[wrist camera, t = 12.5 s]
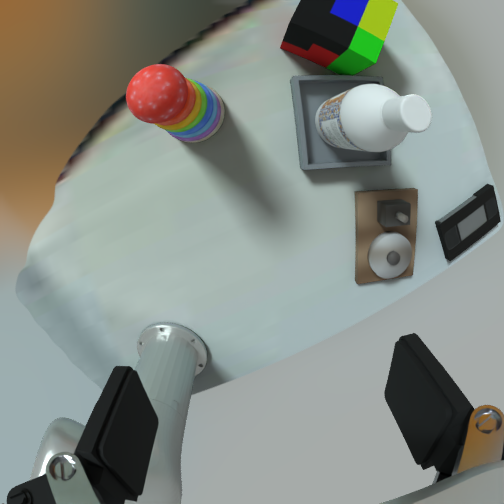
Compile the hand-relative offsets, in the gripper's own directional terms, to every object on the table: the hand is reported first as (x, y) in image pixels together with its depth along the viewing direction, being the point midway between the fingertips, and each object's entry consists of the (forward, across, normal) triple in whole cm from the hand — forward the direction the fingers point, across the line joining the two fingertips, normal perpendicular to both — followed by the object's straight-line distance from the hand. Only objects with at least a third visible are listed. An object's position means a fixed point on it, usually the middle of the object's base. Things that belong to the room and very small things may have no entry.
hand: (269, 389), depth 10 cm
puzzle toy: (+32, -13, -24) cm, 42 cm away
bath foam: (+32, -13, -11) cm, 36 cm away
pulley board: (+32, -20, +6) cm, 39 cm away
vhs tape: (+33, -38, +5) cm, 50 cm away
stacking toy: (+33, +6, -14) cm, 36 cm away
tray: (+32, -13, -11) cm, 37 cm away
